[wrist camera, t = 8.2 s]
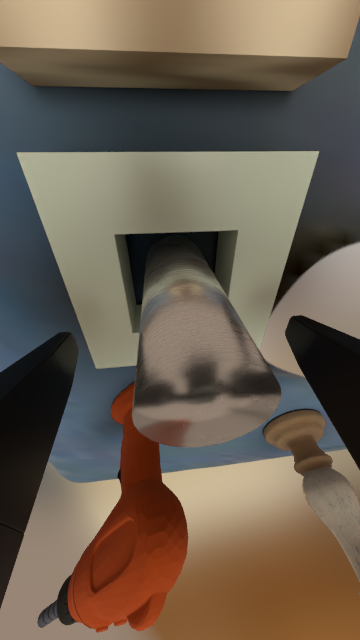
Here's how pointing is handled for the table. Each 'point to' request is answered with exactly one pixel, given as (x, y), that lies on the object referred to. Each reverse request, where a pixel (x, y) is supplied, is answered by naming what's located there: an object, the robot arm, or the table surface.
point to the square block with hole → (165, 228)
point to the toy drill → (128, 543)
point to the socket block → (175, 42)
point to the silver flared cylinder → (195, 356)
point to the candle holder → (320, 477)
